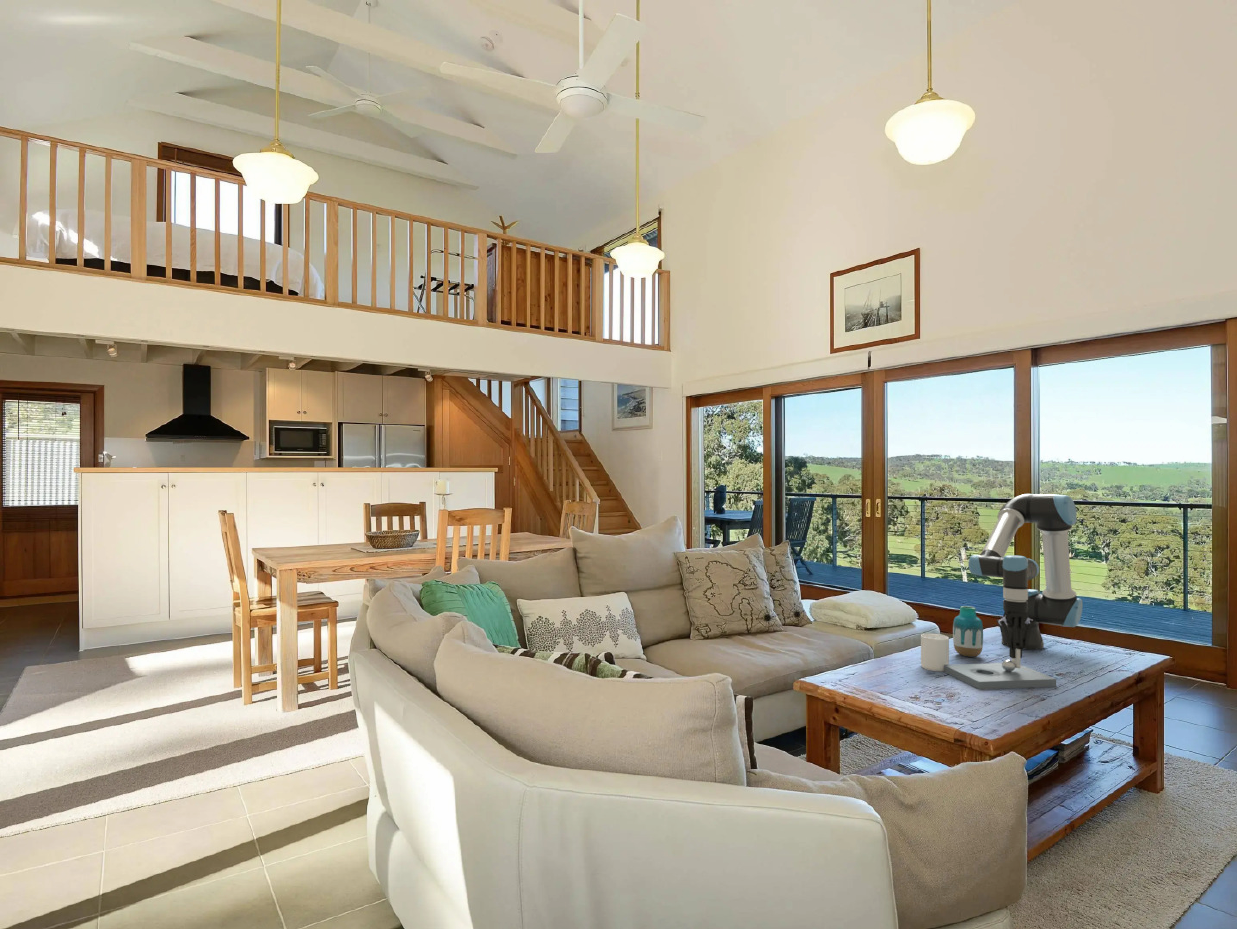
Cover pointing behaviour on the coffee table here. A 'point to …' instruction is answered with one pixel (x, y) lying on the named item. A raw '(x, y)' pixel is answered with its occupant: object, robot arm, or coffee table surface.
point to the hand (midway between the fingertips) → (1015, 667)
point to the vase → (968, 632)
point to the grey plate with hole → (998, 676)
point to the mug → (934, 651)
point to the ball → (1008, 665)
